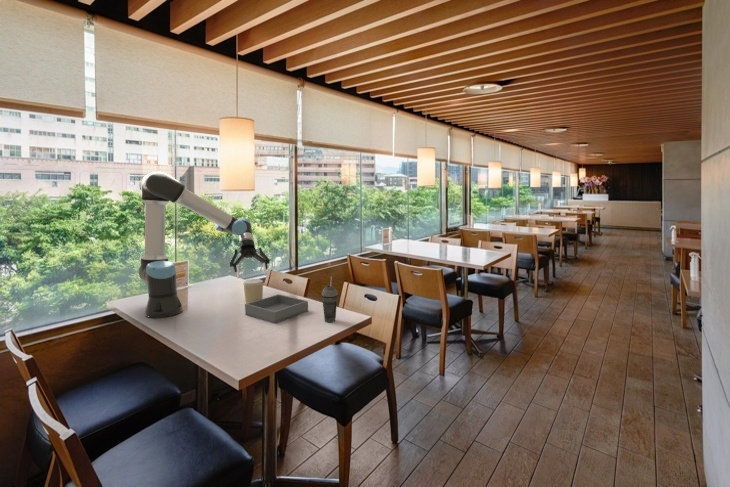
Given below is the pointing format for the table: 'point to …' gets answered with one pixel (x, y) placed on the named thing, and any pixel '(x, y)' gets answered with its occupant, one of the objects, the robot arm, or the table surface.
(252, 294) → the coffee cup
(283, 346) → the table surface
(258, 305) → the grey bin
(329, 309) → the beverage cup
